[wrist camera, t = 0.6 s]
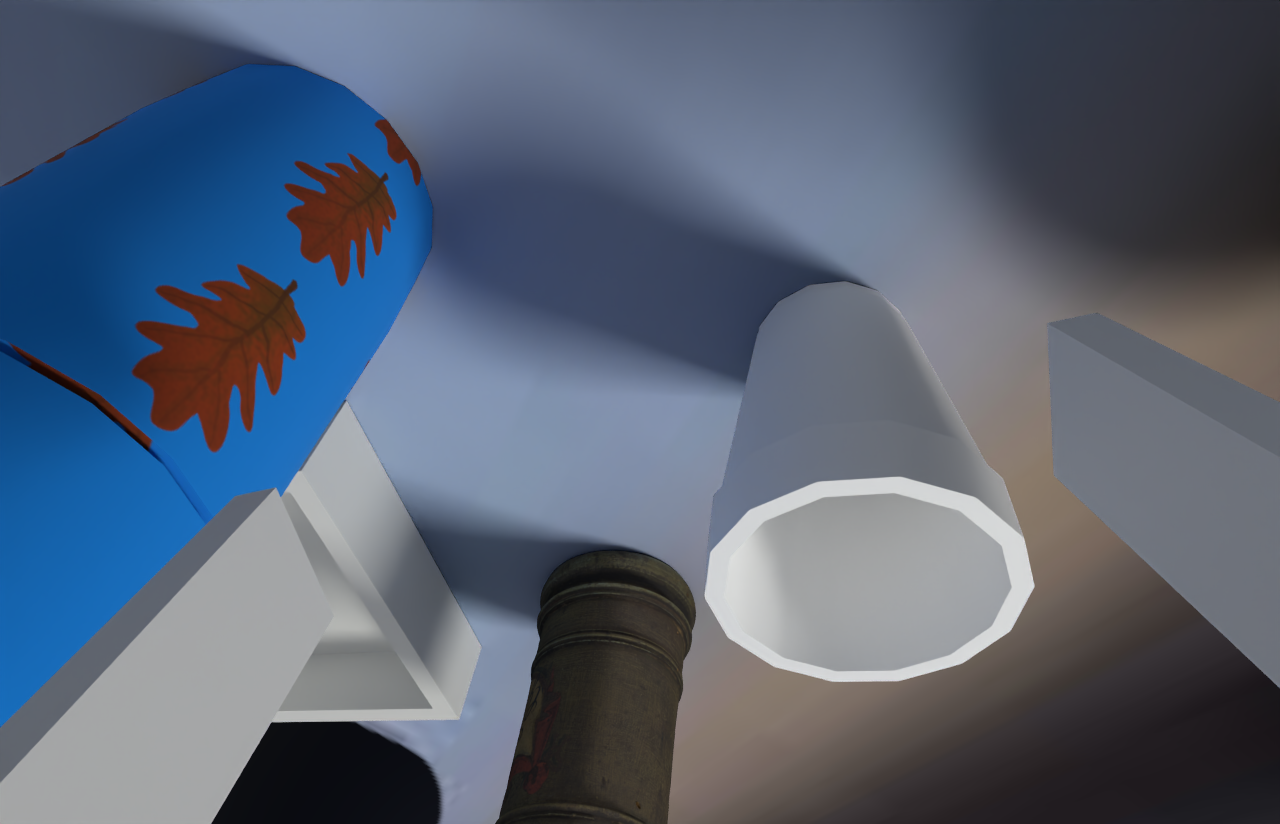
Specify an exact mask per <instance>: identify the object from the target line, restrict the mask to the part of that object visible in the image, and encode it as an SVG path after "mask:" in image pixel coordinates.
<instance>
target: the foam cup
mask: <svg viewBox="0 0 1280 824" xmlns="http://www.w3.org/2000/svg"><path fill="white" fill-rule="evenodd" d="M1033 588H1034V582H1033V577H1032V573H1031V568H1030V563H1029V559H1028V554H1027V550H1026V545H1025V541H1024V537H1023V534H1022V531H1021V528H1020V525H1019V523H1018V520H1017V517H1016V514H1015V511H1014V508H1013V505H1012V503H1011V500H1010V497H1009V494H1008V491H1007V488H1006V485H1005V483H1004V480H1003V478H1002V477H1001V476H1000V475H999V474H997V473H996V472H995V471H994V470H993V469H992V468H991V467H989V466H988V465H987V463H986V462H985V460H984V458H983V456H982V454H981V453H980V451H979V449H978V447H977V446H976V444H975V442H974V440H973V438H972V437H971V435H970V433H969V431H968V429H967V428H966V426H965V424H964V422H963V421H962V419H961V417H960V415H959V413H958V412H957V410H956V408H955V406H954V405H953V403H952V401H951V399H950V397H949V396H948V394H947V392H946V390H945V389H944V387H943V385H942V383H941V381H940V380H939V378H938V376H937V374H936V373H935V371H934V369H933V367H932V365H931V364H930V362H929V360H928V358H927V357H926V355H925V353H924V351H923V349H922V348H921V346H920V344H919V342H918V340H917V339H916V337H915V335H914V333H913V332H912V330H911V328H910V326H909V324H908V323H907V321H906V319H905V318H904V317H903V316H902V314H901V312H900V311H899V310H898V309H897V308H896V307H895V306H894V305H893V304H892V303H891V302H890V301H889V300H888V299H886V298H885V297H884V296H883V295H882V294H881V293H880V292H879V291H877V290H874V289H870V288H867V287H863V286H860V285H857V284H853V283H850V282H846V281H841V282H833V283H824V284H815V285H808V286H806V287H805V288H803V289H801V290H799V291H797V292H795V293H793V294H792V295H790V296H788V297H786V298H784V299H782V300H780V301H779V302H778V303H777V304H776V305H775V307H774V308H773V309H772V311H771V312H770V313H769V315H768V316H767V317H766V318H765V320H764V321H763V322H762V324H761V325H760V326H759V333H758V334H757V337H756V342H755V346H754V350H753V355H752V359H751V363H750V368H749V372H748V376H747V381H746V385H745V389H744V394H743V398H742V402H741V406H740V411H739V415H738V419H737V424H736V428H735V432H734V437H733V441H732V445H731V450H730V454H729V458H728V463H727V467H726V471H725V476H724V480H723V484H722V486H721V488H720V489H719V490H718V491H717V492H716V493H715V495H714V496H713V504H712V512H711V520H710V528H709V536H708V547H707V564H706V580H705V599H706V601H707V603H708V604H709V606H710V608H711V609H712V611H713V613H714V614H715V616H716V618H717V620H718V621H719V623H720V625H721V626H722V628H723V630H724V632H725V633H726V635H727V637H728V638H730V639H731V640H733V641H734V642H736V643H737V644H739V645H741V646H742V647H744V648H745V649H747V650H748V651H750V652H752V653H753V654H755V655H756V656H758V657H759V658H761V659H763V660H764V661H766V662H767V663H769V664H770V665H772V666H773V667H777V668H781V669H785V670H789V671H793V672H797V673H801V674H805V675H809V676H813V677H817V678H821V679H825V680H829V681H833V682H852V681H901V680H904V679H908V678H912V677H915V676H919V675H923V674H926V673H930V672H933V671H937V670H941V669H944V668H948V667H952V666H955V665H959V664H962V663H963V662H965V661H966V660H968V659H969V658H971V657H972V656H974V655H975V654H977V653H978V652H980V651H981V650H983V649H984V648H986V647H987V646H989V645H990V644H992V643H993V642H995V641H996V640H998V639H999V638H1001V637H1002V636H1004V635H1005V634H1007V633H1008V632H1010V631H1011V629H1012V627H1013V625H1014V624H1015V622H1016V620H1017V618H1018V616H1019V614H1020V612H1021V611H1022V609H1023V607H1024V605H1025V603H1026V601H1027V599H1028V598H1029V596H1030V594H1031V592H1032V590H1033Z"/></svg>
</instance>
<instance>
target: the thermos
mask: <svg viewBox="0 0 1280 824" xmlns="http://www.w3.org/2000/svg"><path fill="white" fill-rule="evenodd" d="M432 215H433V206H432V203H431V201H430V198H429V195H428V192H427V189H426V186H425V183H424V180H423V177H422V174H421V171H420V168H419V165H418V163H417V161H416V160H415V158H414V157H413V156H412V154H411V153H410V151H409V150H408V149H407V147H406V146H405V144H404V143H403V142H402V140H401V139H400V137H399V136H398V135H397V133H396V132H395V130H394V129H393V128H392V126H391V125H390V124H389V122H388V121H387V120H386V119H385V118H384V117H382V116H381V115H380V114H379V113H377V112H376V111H375V110H374V109H372V108H371V107H370V106H369V105H367V104H366V103H365V102H364V101H362V100H361V99H360V98H359V97H357V96H356V95H355V94H354V93H352V92H351V91H350V90H349V89H347V88H346V87H345V86H343V85H340V84H338V83H335V82H333V81H330V80H328V79H325V78H323V77H321V76H318V75H316V74H313V73H311V72H308V71H306V70H303V69H301V68H298V67H296V66H281V65H260V64H246V65H243V66H241V67H238V68H236V69H233V70H231V71H228V72H226V73H223V74H221V75H218V76H215V77H213V78H210V79H208V80H206V81H203V82H201V83H199V84H197V85H194V86H192V87H190V88H187V89H185V90H183V91H180V92H178V93H176V94H174V95H171V96H169V97H167V98H164V99H162V100H160V101H158V102H155V103H153V104H151V105H148V106H146V107H144V108H142V109H140V110H138V111H136V112H134V113H133V114H131V115H129V116H127V117H125V118H124V119H122V120H120V121H118V122H116V123H115V124H113V125H111V126H109V127H107V128H105V129H104V130H102V131H100V132H98V133H96V134H95V135H93V136H91V137H89V138H87V139H86V140H84V141H82V142H80V143H78V144H77V145H75V146H73V147H71V148H69V149H68V150H66V151H64V152H62V153H60V154H59V155H57V156H55V157H53V158H51V159H50V160H48V161H46V162H44V163H42V164H40V165H39V166H37V167H35V168H33V169H31V170H30V171H28V172H26V173H24V174H22V175H21V176H19V177H17V178H15V179H13V180H12V181H10V182H8V183H6V184H4V185H3V186H1V187H0V727H1V726H2V725H3V724H4V723H5V722H7V721H8V720H9V719H10V718H11V717H12V716H13V715H14V714H15V713H16V712H17V711H18V710H19V709H20V708H21V707H22V706H23V705H24V704H25V703H26V702H27V701H28V700H29V699H30V698H31V697H32V696H33V695H34V694H35V693H36V692H37V691H38V690H39V689H40V688H41V687H42V686H43V685H44V684H45V683H46V682H47V681H48V680H49V679H50V678H51V677H52V676H53V675H54V674H55V673H56V672H57V671H58V670H59V669H60V668H61V667H62V666H63V665H64V664H65V663H66V662H67V661H68V660H69V659H70V658H71V657H72V656H73V655H74V654H75V653H76V652H78V651H79V650H80V649H81V648H82V647H83V646H84V645H85V644H86V643H87V642H88V641H89V640H90V639H91V638H92V637H93V636H94V635H95V634H96V633H97V632H98V631H99V630H100V629H101V628H102V627H103V626H104V625H105V624H106V623H107V622H108V621H109V620H110V619H111V618H112V617H113V616H114V615H115V614H116V613H117V612H118V611H119V610H120V609H121V608H122V607H123V606H124V605H125V604H126V603H127V602H128V601H129V600H130V599H131V598H132V597H133V596H134V595H135V594H136V593H137V592H138V591H139V590H140V589H141V588H142V587H143V586H144V585H145V584H146V583H148V582H149V581H150V580H151V579H152V578H153V577H154V576H155V575H156V574H157V573H158V572H159V571H160V570H161V569H162V568H163V567H164V566H165V565H166V564H167V563H168V562H169V561H170V560H171V559H172V558H173V557H174V556H175V555H176V554H177V553H178V552H179V551H180V550H181V549H182V548H183V547H184V546H185V545H186V544H187V543H188V542H189V541H190V540H191V539H192V538H193V537H194V536H195V535H196V534H197V533H198V532H199V531H200V530H201V529H202V528H203V527H204V526H205V525H206V524H207V523H208V522H209V521H210V520H211V519H212V518H213V517H214V516H215V515H216V514H217V513H219V512H220V511H221V510H222V509H223V508H224V507H225V506H226V505H227V504H228V503H229V502H230V501H231V500H232V499H233V498H234V497H235V496H238V495H243V494H247V493H252V492H257V491H261V490H266V489H271V488H275V487H276V488H277V490H278V493H279V495H280V497H281V496H282V495H283V493H284V492H285V490H286V489H287V487H288V486H289V484H290V483H291V481H292V480H293V478H294V476H295V475H296V473H297V472H298V470H299V469H300V467H301V466H302V464H303V463H304V461H305V460H306V458H307V457H308V455H309V453H310V452H311V450H312V449H313V447H314V446H315V444H316V443H317V441H318V440H319V438H320V437H321V435H322V433H323V432H324V430H325V429H326V427H327V426H328V424H329V423H330V421H331V420H332V418H333V417H334V415H335V413H336V412H337V410H338V409H339V407H340V406H341V404H342V403H343V401H344V400H345V398H346V397H347V395H348V393H349V392H350V390H351V389H352V387H353V386H354V384H355V383H356V381H357V380H358V378H359V377H360V375H361V374H362V372H363V370H364V369H365V367H366V366H367V364H368V363H369V361H370V360H371V358H372V357H373V355H374V354H375V352H376V350H377V349H378V347H379V346H380V344H381V343H382V341H383V340H384V338H385V337H386V335H387V334H388V332H389V330H390V328H391V326H392V325H393V323H394V321H395V319H396V317H397V315H398V313H399V311H400V309H401V308H402V306H403V304H404V302H405V300H406V298H407V296H408V294H409V293H410V291H411V289H412V287H413V285H414V283H415V281H416V279H417V277H418V275H419V273H420V271H421V269H422V267H423V265H424V262H425V260H426V258H427V256H428V254H429V252H430V250H431V248H432Z"/></svg>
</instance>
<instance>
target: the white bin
mask: <svg viewBox="0 0 1280 824" xmlns="http://www.w3.org/2000/svg"><path fill="white" fill-rule="evenodd" d="M281 499H282V502H283V504H284V506H285V508H286V510H287V513H288V515H289V517H290V519H291V522H292V524H293V526H294V528H295V530H296V533H297V535H298V537H299V539H300V542H301V544H302V546H303V548H304V550H305V553H306V555H307V557H308V559H309V562H310V564H311V566H312V568H313V570H314V573H315V575H316V577H317V579H318V582H319V584H320V586H321V588H322V590H323V593H324V595H325V597H326V599H327V602H328V604H329V606H330V608H331V610H332V613H333V615H334V617H333V619H332V620H331V622H330V624H329V626H328V627H327V629H326V631H325V632H324V634H323V636H322V637H321V639H320V641H319V642H318V644H317V646H316V647H315V649H314V651H313V652H312V654H311V656H310V658H309V659H308V661H307V663H306V664H305V666H304V668H303V669H302V671H301V673H300V674H299V676H298V678H297V679H296V681H295V683H294V684H293V686H292V688H291V690H290V691H289V693H288V695H287V696H286V698H285V700H284V701H283V703H282V705H281V706H280V708H279V710H278V711H277V713H276V715H275V716H274V718H273V720H272V722H306V721H308V722H309V721H311V722H312V721H391V720H459V718H460V715H461V712H462V709H463V705H464V702H465V699H466V696H467V693H468V689H469V686H470V683H471V680H472V676H473V673H474V670H475V667H476V664H477V660H478V657H479V654H480V651H481V645H480V643H479V641H478V640H477V638H476V636H475V634H474V632H473V630H472V629H471V627H470V625H469V623H468V621H467V619H466V618H465V616H464V614H463V612H462V610H461V609H460V607H459V605H458V603H457V601H456V599H455V598H454V596H453V594H452V592H451V590H450V588H449V587H448V585H447V583H446V581H445V579H444V578H443V576H442V574H441V572H440V570H439V568H438V567H437V565H436V563H435V561H434V559H433V557H432V556H431V554H430V552H429V550H428V548H427V546H426V545H425V543H424V541H423V539H422V537H421V536H420V534H419V532H418V530H417V528H416V526H415V525H414V523H413V521H412V519H411V517H410V515H409V514H408V512H407V510H406V508H405V506H404V505H403V503H402V501H401V499H400V497H399V495H398V494H397V492H396V490H395V488H394V486H393V484H392V483H391V481H390V479H389V477H388V475H387V474H386V472H385V470H384V468H383V466H382V464H381V463H380V461H379V459H378V457H377V455H376V453H375V452H374V450H373V448H372V446H371V444H370V442H369V441H368V439H367V437H366V435H365V433H364V432H363V430H362V428H361V426H360V424H359V422H358V421H357V419H356V417H355V415H354V413H353V411H352V410H351V408H350V406H349V404H348V402H347V401H343V403H342V404H341V406H340V407H339V409H338V410H337V412H336V413H335V415H334V417H333V418H332V420H331V421H330V423H329V424H328V426H327V427H326V429H325V430H324V432H323V433H322V435H321V437H320V438H319V440H318V441H317V443H316V444H315V446H314V447H313V449H312V450H311V452H310V453H309V455H308V457H307V458H306V460H305V461H304V463H303V464H302V466H301V467H300V469H299V470H298V472H297V473H296V475H295V476H294V478H293V480H292V481H291V483H290V484H289V486H288V487H287V489H286V490H285V492H284V493H283V495H282V496H281Z"/></svg>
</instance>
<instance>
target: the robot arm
mask: <svg viewBox="0 0 1280 824" xmlns="http://www.w3.org/2000/svg"><path fill="white" fill-rule="evenodd" d="M1047 327H1048V351H1049V374H1050V398H1051V421H1052V445H1053V468H1054V476H1055V477H1056V478H1057V479H1058V480H1059V481H1060V482H1061V483H1063V484H1064V485H1065V486H1066V487H1067V488H1068V489H1069V490H1070V491H1071V492H1072V493H1073V494H1074V495H1075V496H1076V497H1077V498H1078V499H1080V500H1081V501H1082V502H1083V503H1084V504H1085V505H1086V506H1087V507H1088V508H1089V509H1090V510H1091V511H1092V512H1093V513H1094V514H1095V515H1097V516H1098V517H1099V518H1100V519H1101V520H1102V521H1103V522H1104V523H1105V524H1106V525H1107V526H1108V527H1109V528H1110V529H1111V530H1112V531H1114V532H1115V533H1116V534H1117V535H1118V536H1119V537H1120V538H1121V539H1122V540H1123V541H1124V542H1125V543H1126V544H1127V545H1128V546H1129V547H1131V548H1132V549H1133V550H1134V551H1135V552H1136V553H1137V554H1138V555H1139V556H1140V557H1141V558H1142V559H1143V560H1144V561H1145V562H1146V563H1148V564H1149V565H1150V566H1151V567H1152V568H1153V569H1154V570H1155V571H1156V572H1157V573H1158V574H1159V575H1160V576H1161V577H1162V578H1164V579H1165V580H1166V581H1167V582H1168V583H1169V584H1170V585H1171V586H1172V587H1173V588H1174V589H1175V590H1176V591H1177V592H1178V593H1179V594H1181V595H1182V596H1183V597H1184V598H1185V599H1186V600H1187V601H1188V602H1189V603H1190V604H1191V605H1192V606H1193V607H1194V608H1195V609H1196V610H1198V611H1199V612H1200V613H1201V614H1202V615H1203V616H1204V617H1205V618H1206V619H1207V620H1208V621H1209V622H1210V623H1211V624H1212V625H1213V626H1215V627H1216V628H1217V629H1218V630H1219V631H1220V632H1221V633H1222V634H1223V635H1224V636H1225V637H1226V638H1227V639H1228V640H1229V641H1230V642H1232V643H1233V644H1234V645H1235V646H1236V647H1237V648H1238V649H1239V650H1240V651H1241V652H1242V653H1243V654H1244V655H1245V656H1246V657H1247V658H1249V659H1250V660H1251V661H1252V662H1253V663H1254V664H1255V665H1256V666H1257V667H1258V668H1259V669H1260V670H1261V671H1262V672H1263V673H1264V674H1266V675H1267V676H1268V677H1269V678H1270V679H1271V680H1272V681H1273V682H1274V683H1275V684H1276V685H1277V686H1278V687H1279V688H1280V402H1278V401H1276V400H1274V399H1272V398H1270V397H1267V396H1265V395H1263V394H1261V393H1259V392H1257V391H1255V390H1253V389H1251V388H1249V387H1247V386H1245V385H1243V384H1241V383H1239V382H1237V381H1235V380H1233V379H1231V378H1229V377H1227V376H1225V375H1223V374H1221V373H1219V372H1217V371H1214V370H1212V369H1210V368H1208V367H1206V366H1204V365H1202V364H1200V363H1198V362H1196V361H1194V360H1192V359H1190V358H1188V357H1186V356H1184V355H1182V354H1180V353H1178V352H1176V351H1174V350H1172V349H1170V348H1168V347H1166V346H1164V345H1162V344H1159V343H1157V342H1155V341H1153V340H1151V339H1149V338H1147V337H1145V336H1143V335H1141V334H1139V333H1137V332H1135V331H1133V330H1131V329H1129V328H1127V327H1125V326H1123V325H1121V324H1119V323H1117V322H1115V321H1113V320H1111V319H1109V318H1106V317H1104V316H1102V315H1100V314H1098V313H1093V314H1089V315H1084V316H1079V317H1075V318H1070V319H1065V320H1060V321H1056V322H1051V323H1047ZM333 617H334V615H333V613H332V610H331V608H330V606H329V604H328V602H327V599H326V597H325V595H324V593H323V590H322V588H321V586H320V584H319V582H318V579H317V577H316V575H315V573H314V570H313V568H312V566H311V564H310V562H309V559H308V557H307V555H306V553H305V550H304V548H303V546H302V544H301V542H300V539H299V537H298V535H297V533H296V530H295V528H294V526H293V524H292V522H291V519H290V517H289V515H288V513H287V510H286V508H285V506H284V504H283V502H282V499H281V497H280V495H279V493H278V490H277V488H276V487H275V488H271V489H266V490H261V491H257V492H252V493H247V494H243V495H238V496H235V497H234V498H233V499H232V500H231V501H230V502H229V503H228V504H227V505H226V506H225V507H224V508H223V509H222V510H221V511H220V512H219V513H217V514H216V515H215V516H214V517H213V518H212V519H211V520H210V521H209V522H208V523H207V524H206V525H205V526H204V527H203V528H202V529H201V530H200V531H199V532H198V533H197V534H196V535H195V536H194V537H193V538H192V539H191V540H190V541H189V542H188V543H187V544H186V545H185V546H184V547H183V548H182V549H181V550H180V551H179V552H178V553H177V554H176V555H175V556H174V557H173V558H172V559H171V560H170V561H169V562H168V563H167V564H166V565H165V566H164V567H163V568H162V569H161V570H160V571H159V572H158V573H157V574H156V575H155V576H154V577H153V578H152V579H151V580H150V581H149V582H148V583H146V584H145V585H144V586H143V587H142V588H141V589H140V590H139V591H138V592H137V593H136V594H135V595H134V596H133V597H132V598H131V599H130V600H129V601H128V602H127V603H126V604H125V605H124V606H123V607H122V608H121V609H120V610H119V611H118V612H117V613H116V614H115V615H114V616H113V617H112V618H111V619H110V620H109V621H108V622H107V623H106V624H105V625H104V626H103V627H102V628H101V629H100V630H99V631H98V632H97V633H96V634H95V635H94V636H93V637H92V638H91V639H90V640H89V641H88V642H87V643H86V644H85V645H84V646H83V647H82V648H81V649H80V650H79V651H78V652H76V653H75V654H74V655H73V656H72V657H71V658H70V659H69V660H68V661H67V662H66V663H65V664H64V665H63V666H62V667H61V668H60V669H59V670H58V671H57V672H56V673H55V674H54V675H53V676H52V677H51V678H50V679H49V680H48V681H47V682H46V683H45V684H44V685H43V686H42V687H41V688H40V689H39V690H38V691H37V692H36V693H35V694H34V695H33V696H32V697H31V698H30V699H29V700H28V701H27V702H26V703H25V704H24V705H23V706H22V707H21V708H20V709H19V710H18V711H17V712H16V713H15V714H14V715H13V716H12V717H11V718H10V719H9V720H8V721H7V722H5V723H4V724H3V725H2V726H1V727H0V824H211V823H212V821H213V819H214V817H215V816H216V814H217V812H218V811H219V809H220V807H221V805H222V804H223V802H224V800H225V799H226V797H227V796H228V794H229V792H230V790H231V789H232V787H233V785H234V784H235V782H236V780H237V779H238V777H239V775H240V774H241V772H242V770H243V769H244V767H245V765H246V764H247V762H248V760H249V759H250V757H251V755H252V753H253V752H254V750H255V748H256V747H257V745H258V743H259V742H260V740H261V738H262V737H263V735H264V733H265V732H266V730H267V728H268V727H269V725H270V723H271V722H272V720H273V718H274V716H275V715H276V713H277V711H278V710H279V708H280V706H281V705H282V703H283V701H284V700H285V698H286V696H287V695H288V693H289V691H290V690H291V688H292V686H293V684H294V683H295V681H296V679H297V678H298V676H299V674H300V673H301V671H302V669H303V668H304V666H305V664H306V663H307V661H308V659H309V658H310V656H311V654H312V652H313V651H314V649H315V647H316V646H317V644H318V642H319V641H320V639H321V637H322V636H323V634H324V632H325V631H326V629H327V627H328V626H329V624H330V622H331V620H332V619H333Z"/></svg>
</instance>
